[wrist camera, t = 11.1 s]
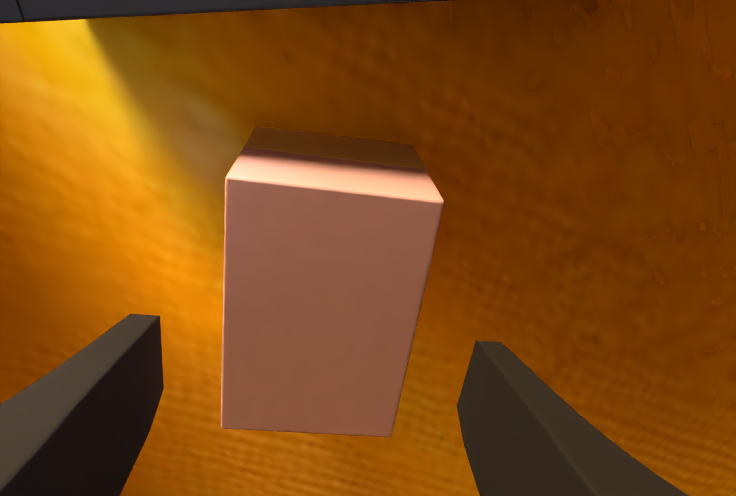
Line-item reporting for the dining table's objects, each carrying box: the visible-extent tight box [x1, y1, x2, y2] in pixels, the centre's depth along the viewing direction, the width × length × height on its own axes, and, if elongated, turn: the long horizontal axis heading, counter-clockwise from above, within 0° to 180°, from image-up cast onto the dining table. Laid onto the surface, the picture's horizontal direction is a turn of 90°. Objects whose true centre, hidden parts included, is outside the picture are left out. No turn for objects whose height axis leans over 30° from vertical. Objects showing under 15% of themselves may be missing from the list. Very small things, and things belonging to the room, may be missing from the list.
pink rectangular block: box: [221, 126, 444, 437], centre depth 15 cm, size 5×8×5 cm, turn 172°
